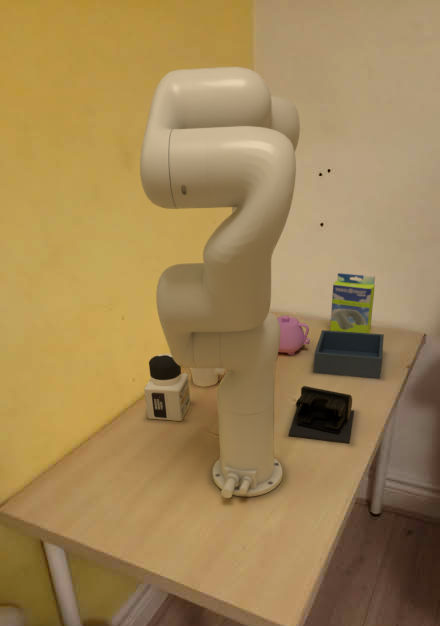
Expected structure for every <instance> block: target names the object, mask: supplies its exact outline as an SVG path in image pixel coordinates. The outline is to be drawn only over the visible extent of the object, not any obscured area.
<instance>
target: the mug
mask: <svg viewBox="0 0 440 626" xmlns="http://www.w3.org/2000/svg"><path fill="white" fill-rule="evenodd" d="M227 370H228V369H223V368H190V371H191V377H192V383H193V384H194V385H196V386H197V387H203V388H204V387H212V386H215V385H217V383H218V382H219V375H221V376H225V374H226V373H227Z"/></svg>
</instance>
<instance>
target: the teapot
mask: <svg viewBox="0 0 440 626" xmlns="http://www.w3.org/2000/svg"><path fill="white" fill-rule="evenodd" d="M276 318H277V319H278V321H279V324H280V334H281V335H280V345H279V350H278V353H287V355H289V356H294V355H296V353H295V352H297V351H299V350H300V349H301V348H302V347H303V346H304V345H309V344H310V343H311V339H310V338H309V337H308V335H309V332H310V327H309V325H308V324H306V323H304V322H300V321H299V320H298V319H297V318H296V317H292V316H290V315H285V314H284V315H282V316H278V317H276ZM304 328H305V332H304V330H303V329H304Z"/></svg>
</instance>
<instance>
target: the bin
mask: <svg viewBox="0 0 440 626" xmlns="http://www.w3.org/2000/svg"><path fill="white" fill-rule="evenodd" d="M384 339H385V335H384V334H383V333H371V332H370V333H356V332H341V331H330V330H325V329H322V330H321V332H320V336H319V338H318V342H317V344H316V348H315V351H314V355H313V356H314V357H313V359H314V360H313V374H323V375H334V376H344V377H354V378H355V377H357V378H365V379H377V380H379V379H380V380H381V373H382V364H383V352H384Z"/></svg>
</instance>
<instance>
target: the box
mask: <svg viewBox="0 0 440 626" xmlns="http://www.w3.org/2000/svg"><path fill="white" fill-rule="evenodd" d="M351 278H356V279H361V280H356V279H355V280H354V279H351ZM375 279H376V276H375V275H363V274H352V273H343V272H342V273H341V272H338V273H337V280H335V281H334V282H333V284H332V297H331V298H332V299H331V310H330V312H331V313H330V324H329V331H341V332H356V333H371V330H372V329H371V328H372V317H373V307H374V297H375V287H376V285H375V282H376V281H375Z"/></svg>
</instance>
